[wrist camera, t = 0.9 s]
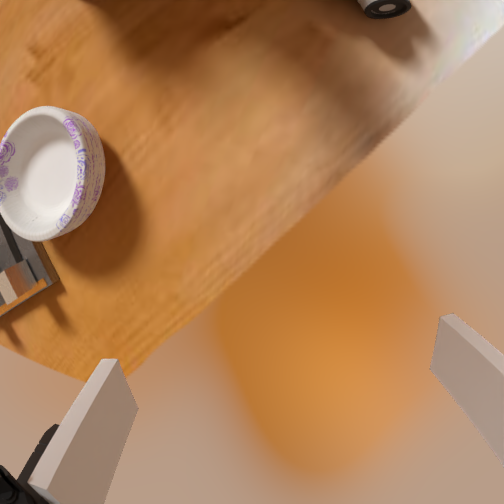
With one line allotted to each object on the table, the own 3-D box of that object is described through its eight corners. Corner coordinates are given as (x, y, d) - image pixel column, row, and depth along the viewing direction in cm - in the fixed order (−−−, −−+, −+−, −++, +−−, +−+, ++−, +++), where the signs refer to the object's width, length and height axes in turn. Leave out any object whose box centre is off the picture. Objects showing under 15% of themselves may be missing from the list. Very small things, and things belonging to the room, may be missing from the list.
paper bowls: (20, 138, 31) (-16, 137, 24) (106, 97, 31) (75, 83, 23) (40, 240, 35) (6, 255, 28) (129, 213, 35) (100, 225, 27)
